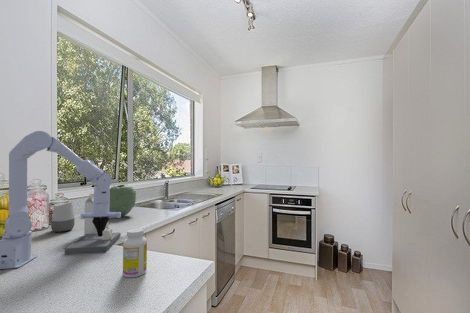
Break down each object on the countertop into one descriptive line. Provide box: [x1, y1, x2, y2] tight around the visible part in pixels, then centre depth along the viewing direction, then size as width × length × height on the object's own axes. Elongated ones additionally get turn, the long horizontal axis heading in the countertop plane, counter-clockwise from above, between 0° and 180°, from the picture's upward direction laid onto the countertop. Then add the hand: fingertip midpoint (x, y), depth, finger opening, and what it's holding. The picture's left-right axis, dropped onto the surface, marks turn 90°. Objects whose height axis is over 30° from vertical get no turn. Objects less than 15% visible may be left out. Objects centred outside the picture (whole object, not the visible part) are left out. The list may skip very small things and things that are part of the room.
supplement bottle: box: [122, 227, 148, 278], centre depth 71 cm, size 7×7×13 cm
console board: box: [64, 232, 121, 255], centre depth 95 cm, size 18×14×3 cm
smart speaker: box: [50, 201, 76, 233], centre depth 115 cm, size 10×9×14 cm
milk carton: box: [83, 193, 110, 236], centre depth 109 cm, size 7×7×19 cm
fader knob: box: [102, 227, 113, 240], centre depth 96 cm, size 4×2×4 cm, turn 11°
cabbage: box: [109, 183, 137, 218], centre depth 146 cm, size 16×19×20 cm
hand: (100, 235), depth 96 cm, fingers closed
